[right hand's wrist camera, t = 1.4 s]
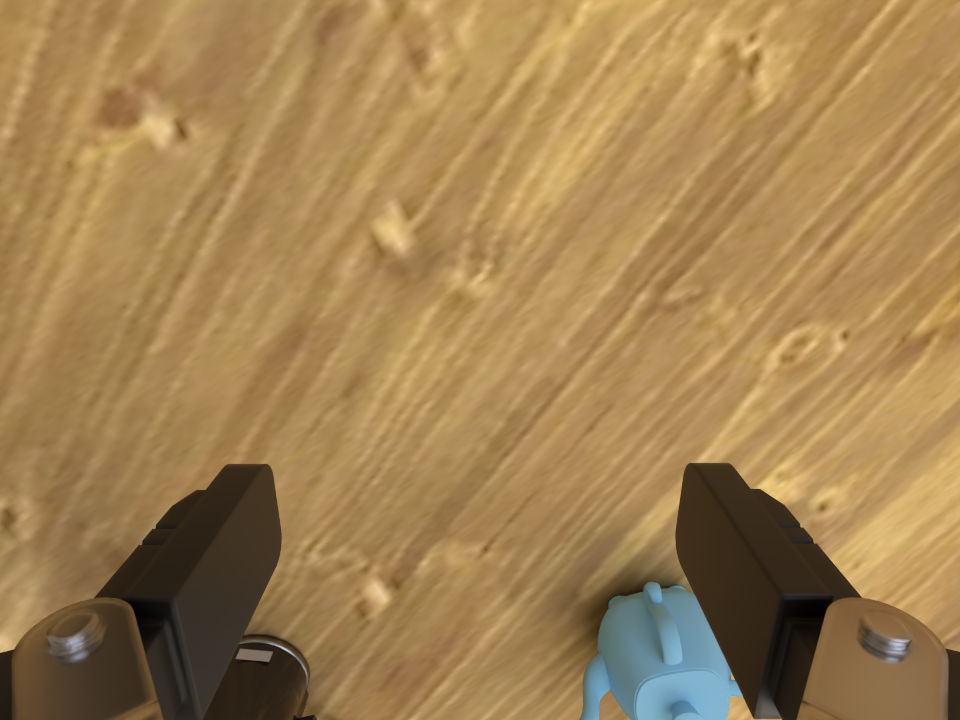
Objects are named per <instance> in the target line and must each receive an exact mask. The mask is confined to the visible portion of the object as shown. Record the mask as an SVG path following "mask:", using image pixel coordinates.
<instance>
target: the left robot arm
mask: <svg viewBox="0 0 960 720" xmlns="http://www.w3.org/2000/svg"><path fill="white" fill-rule="evenodd" d="M309 678H310V671H309V667H308V664H307V662H306V660H305V659H304V657H303V656H302V655H301V653H300V652H299V651H298V650H296V649H295V648H294V647H293V646H291V645H289V644H288V643H286V642H284V641H281V640H279V639H276V638H272V637H267V636H247V637H242V639H241V641H240V643H239V645H238V647H237V649H236V651H235V653H234V655H233V657H232V659H231V661H230V664H229V666H228V668H227V670H226V672H225V674H224V676H223V678H222V680H221V682H220V684H219V686H218V689H217V691H216V693H215V695H214V697H213V699H212V701H211V703H210V705H209V707H208V709H207V711H206V714H205V716H204V718H203V720H317V719H316V717H315V715H311V716H306V717H302V714H303V711H304V708H305V705H306V702H307V698H308V693H307V691H306V689H307V686H308V683H309Z"/></svg>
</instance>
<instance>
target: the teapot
mask: <svg viewBox="0 0 960 720" xmlns="http://www.w3.org/2000/svg"><path fill="white" fill-rule="evenodd" d="M608 607H609V609H608V610H607V612H606V613H605V615H604V617H603V619H602V622H601V625H600V629H599V634H598V643H597V645H598V654H597V655H595V656H594V657H593V658H592V659H591V661H590V662H589V664H588V665H587V667H586V669H585V672H584V677H583V711H582V715H581V718H580V720H598V717H599V703H600V700H601V698H602V696H603V695H604V694H606V693H607V692H608V691H609V690H611V691H612V693H613V695H614V696H615V698H616V700H617V701H618V703H619V705H620V706H621V707H622V709H623V710H624V712H625V713H626V714H627V716H628V717H629V718H630V719H631V720H726V719H727V716H728V710H729V703H730V696H743V695H742V693H741V691H740V689H739V687H738V685H737V683H736V681H735V680H731V670H730V668H729V666H728V664H727V662H726V659H725V657H724V655H723V653H722V651H721V649H720V647H719V645H718V643H717V640H716V638H715V636H714V634H713V632H712V630H711V628H710V626H709V624H708V622H707V619H706V617H705V615H704V613H703V611H702V609H701V607H700V605H699V603H698V600H697V598H696V596H695V594H693V593H691V592H689V591H686V589H685V588H683V587H682V586H671V587H669V588H665V589H661V588H660V585H659V584H658V583H656V582H649V583H647V584H646V585H645V586H644V589H643V592H639V593H635V594H632V595H628V596H616V597H613V598H612V599H611V600H610V601H609V604H608Z"/></svg>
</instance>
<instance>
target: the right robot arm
mask: <svg viewBox="0 0 960 720" xmlns="http://www.w3.org/2000/svg"><path fill="white" fill-rule="evenodd" d="M676 549H677V555H678V559H679V562H680V564H681V567H682V569H683V571H684V573H685V575H686V577H687V579H688V581H689V584H690V586H691V588H692V590H693V592H694V594H695V596H696V598H697V600H698V603H699V605H700V607H701V609H702V611H703V613H704V615H705V617H706V619H707V622H708V624H709V626H710V628H711V630H712V632H713V634H714V636H715V638H716V640H717V643H718V645H719V647H720V649H721V651H722V653H723V655H724V657H725V659H726V662H727V664H728V666H729V668H730V670H731V672H732V674H733V676H734V678H735V681H736V683H737V685H738V687H739V689H740V691H741V693H742V695H743V697H744V699H745V702H746V704H747V706H748V708H749V710H750V712H751V714H752V716H753V718H754V719H782V720H960V652H958V651H953V650H949V649H945V647H944V646H943V644H942V642H941V641H940V640H939V638H938V637H937V636H936V635H935V634H934V633H933V632H932V631H931V630H930V629H929V628H928V627H927V626H925V625H924V624H923V623H921V622H920V621H919V620H917V619H916V618H914V617H912V616H911V615H909V614H908V613H906V612H904V611H902V610H900V609H898V608H895V607H893V606H891V605H888V604H885V603H882V602H879V601H875V600H871V599H865V598H862V597H861V596H860V595H859V594H858V592H857V591H856V590H855V589H854V588H853V586H852V585H851V584H850V583H849V582H848V580H847V579H846V578H845V577H844V576H843V574H842V573H841V572H840V571H839V570H838V568H837V567H836V566H835V565H834V564H833V563H832V561H831V560H830V559H829V558H828V557H827V555H826V554H825V553H824V552H823V551H822V549H821V548H820V547H819V546H818V545H817V544H814V543H813V539H812V537H811V536H810V535H809V534H808V533H807V532H806V530H805V529H804V528H801V527H800V523H799V522H798V521H797V520H796V518H795V517H794V516H793V515H792V514H791V512H790V511H789V510H788V509H787V508H786V506H785V505H783V504H782V503H780V502H779V501H777V500H776V499H774V498H773V497H771V496H770V495H768V494H767V493H765V492H764V491H762V490H761V489H750V488H749V486H748V485H747V484H746V482H745V481H744V480H743V479H742V477H741V476H740V475H739V473H738V472H737V471H736V470H735V468H734V467H733V466H732V465H731V464H729V463H689V464H688V465H687V466H686V468H685V471H684V476H683V482H682V490H681V497H680V504H679V511H678V518H677V525H676ZM280 551H281V526H280V519H279V512H278V505H277V498H276V491H275V484H274V477H273V472H272V469H271V467H270V466H269V465H268V464H227V465H226V466H225V467H224V468H223V469H222V470H221V471H220V473H219V474H218V475H217V476H216V478H215V479H214V480H213V481H212V483H211V484H210V485H209V487H208V488H207V489H206V490H196V491H195V492H193V493H191V494H190V495H188V496H187V497H185V498H184V499H182V500H181V501H179V502H178V503H176V504H175V505H173V506H172V507H171V508H170V509H169V510H168V511H167V513H166V514H165V515H164V516H163V517H162V519H161V520H160V521H159V522H158V523H157V524H156V529H152V530H151V532H150V533H149V534H148V535H147V536H146V537H145V539H144V540H143V543H142V545H139V546H138V547H137V548H136V549H135V550H134V552H133V553H132V554H131V555H130V556H129V558H128V559H127V560H126V561H125V562H124V563H123V565H122V566H121V567H120V568H119V569H118V571H117V572H116V573H115V574H114V575H113V576H112V578H111V579H110V580H109V581H108V582H107V584H106V585H105V586H104V587H103V588H102V589H101V591H100V592H99V593H98V594H97V595H96V597H95V598H94V599H89V600H85V601H81V602H78V603H75V604H72V605H69V606H67V607H65V608H62V609H60V610H58V611H56V612H54V613H52V614H51V615H49V616H48V617H46V618H44V619H43V620H41V621H40V622H39V623H37V624H36V625H35V626H33V627H32V628H31V629H30V630H29V631H28V632H27V633H26V634H25V635H24V636H23V637H22V638H21V640H20V641H19V642H18V644H17V646H16V647H15V649H14V650H10V651H7V652H2V653H0V720H203V718H204V716H205V714H206V711H207V709H208V707H209V705H210V703H211V701H212V699H213V697H214V695H215V693H216V691H217V689H218V686H219V684H220V682H221V680H222V678H223V676H224V674H225V672H226V670H227V668H228V666H229V664H230V661H231V659H232V657H233V655H234V653H235V651H236V649H237V647H238V645H239V643H240V641H241V639H242V637H243V634H244V632H245V630H246V628H247V626H248V624H249V622H250V620H251V618H252V616H253V614H254V612H255V609H256V607H257V605H258V603H259V601H260V599H261V597H262V595H263V593H264V591H265V589H266V587H267V584H268V582H269V580H270V578H271V576H272V574H273V572H274V570H275V568H276V566H277V563H278V560H279V556H280Z"/></svg>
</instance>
